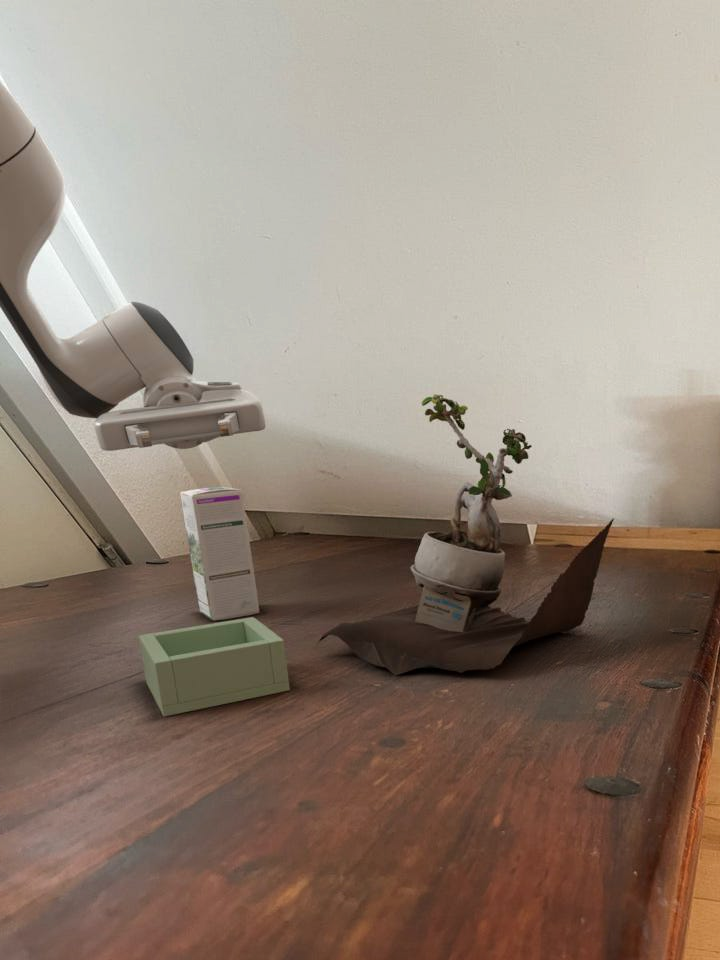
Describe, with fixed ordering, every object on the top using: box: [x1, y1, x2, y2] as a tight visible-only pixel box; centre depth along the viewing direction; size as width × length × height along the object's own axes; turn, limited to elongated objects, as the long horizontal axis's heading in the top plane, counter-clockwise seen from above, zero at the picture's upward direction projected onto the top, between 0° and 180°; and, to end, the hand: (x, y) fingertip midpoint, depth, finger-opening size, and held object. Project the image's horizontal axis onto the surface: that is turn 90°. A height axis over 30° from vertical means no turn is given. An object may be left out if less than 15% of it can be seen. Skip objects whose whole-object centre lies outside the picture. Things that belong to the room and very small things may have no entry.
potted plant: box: [315, 393, 615, 676], centre depth 72 cm, size 20×19×25 cm
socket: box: [137, 616, 291, 717], centre depth 64 cm, size 10×10×4 cm
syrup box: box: [179, 486, 260, 622], centre depth 89 cm, size 6×6×14 cm
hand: (185, 434), depth 92 cm, fingers open, 8 cm apart
